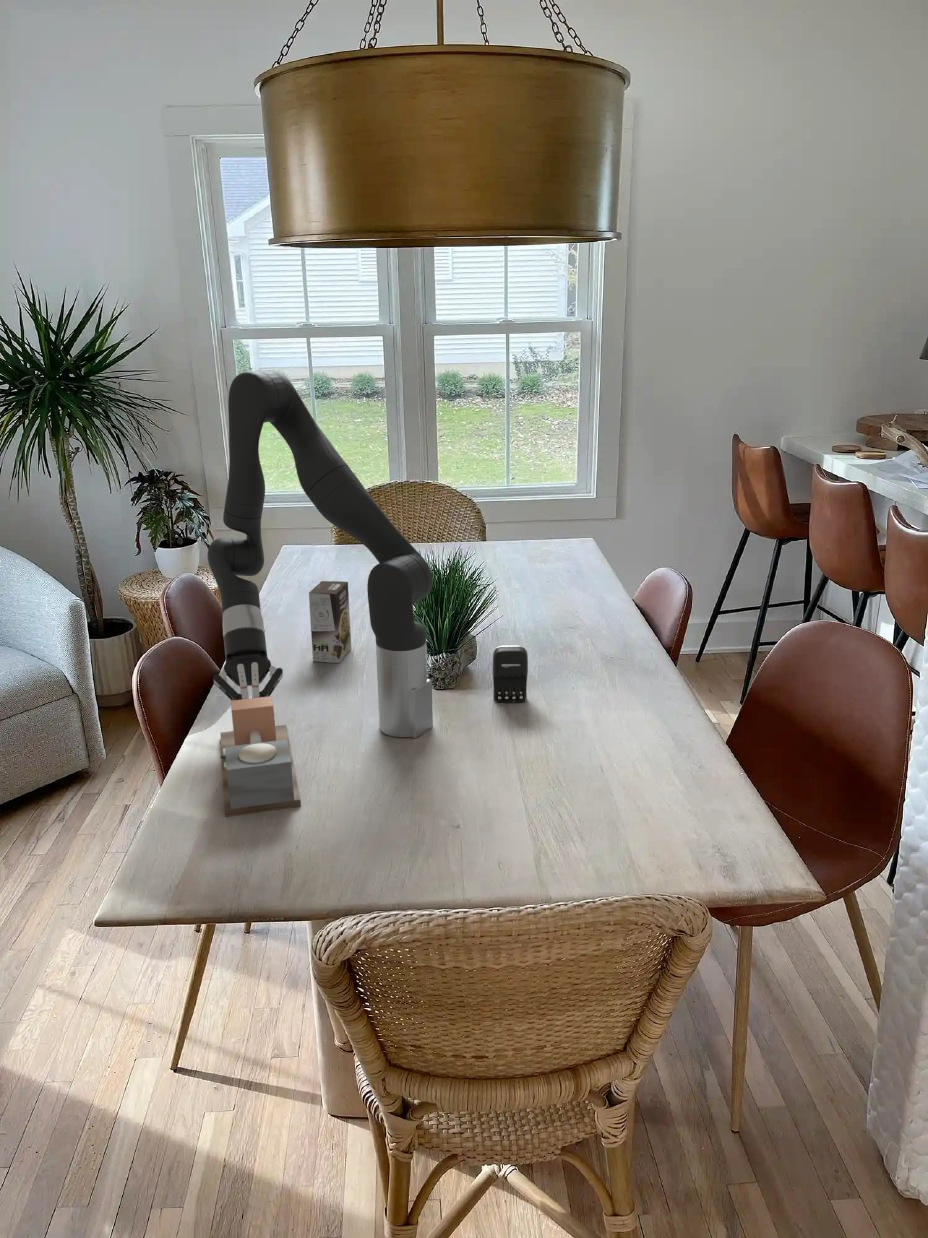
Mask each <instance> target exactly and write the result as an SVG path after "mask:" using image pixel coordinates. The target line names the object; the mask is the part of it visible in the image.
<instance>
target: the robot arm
mask: <svg viewBox="0 0 928 1238" xmlns="http://www.w3.org/2000/svg"><path fill="white" fill-rule="evenodd" d="M227 402H228V406H227V407H228V412H227V413H228V441H229V442H228V447H229V448H228V454H229V456H228V457H229V461H228V465H229V467H228V477H227V478H228V480H227V488H226V494H225V501H224V509H223V517H222V518H223V520H222V521H223V524H224V525H225V527H227V528H228V529H230V530H233V531H236V532H240V533H243V534H244V535H245V536H246V538H245V539H241V538H240V539H239V538H228V537H227V538H226V537H220V538H216V539H214V540H213V541H212V542H211V543H210V545H209V547H208V549H207V561H208V567H209V568H210V571H211V573H212V576H213V579H214V580H215V582H216V585H217V588H218V590H219V593H220V598H221V599H220V600H221V607H222V608H221V609H222V636H223V645H224V656H225V663H224V664H223V670H222V671H221V672H220V673H217V674H213V683H214V685H215V686H216V688H218V689H219V690H220V691H221V692H222V693H223V694H224V695H225V696H226V697H227V698H229V700H230V702H231V701H233V700H242V699H250V696H249V690H248V687H249V686H250V687H251V691H252V693H251V695H252V697H251V698H260V697H269V696H272V693H273V692H274V690H275V688H277V686H278V685H279V683H280V681H281V680H282V678H283V677H284V676H283V675H284V671H283V668H282V667H278V668H277V667H275V666H273V665H272V663H271V660H270V659H269V658H268V651H267V649H268V648H267V643H266V642H267V641H266V633H265V631H266V630H265V629H266V628H265V624H264V619H263V615H262V611H261V601H260V593H259V591H260V590H259V587H258V585H257V584H256V583H254V582H253V581H251V580H249V579H244V578H242V577H243V576H244V577H253V576H256V575H259V573H260V572H261V571H262V570H263V568H264V564H265V552H264V548H263V547H264V546H263V541H262V515H263V509H264V505H265V498H266V497H265V496H266V481H265V476H264V472H263V468H262V465H261V460H260V452H259V447H260V445H259V444H260V438H261V434H262V429H263V426H264V424H265V423H270V424H271V425H272V426H273V427H274V428H275V429H276V431H277V432H278V433H279V434H280V436H281V437H282V439H284V441H285V443H286V444H287V445H288V447H289V449H290V451H291V453H292V457H293V460H294V465H295V469H296V473H297V474H296V475H297V478H298V481H299V484H300V486H301V488H302V490H303V492H304V493H305V495H306V497H308V499H309V500H310V502H311V503H312V504H313V506H314V507H315V508H316V510H317V511H318V512H319V513H320V515H321V516H322V517H323V519H324V520H326V521H327V522H329V523H330V524H332V525H333V526H335V527H336V528H338V529H339V530H341V531H342V532H344V533H346V534H348V535H349V536H351V537H352V538H354V539H355V540H357V541H358V542H360V543H361V544H362V545H363V546H364V547H366V548H367V550H368V551H369V552H370V553H371V554H372V556H374V558H375V559H376V561H377V562H378V564H376V565H375V566H373V567H372V568H371V570H370V572H369V574H368V578H367V584H366V586H367V591H366V592H367V601H368V602H367V603H368V612H369V621H370V626H371V630H372V632H373V634H374V637H375V649H376V650H375V651H376V653H375V654H376V671H377V672H376V674H377V675H376V676H377V678H376V679H377V695H378V696H377V701H378V718H379V720H378V721H379V722H378V723H379V724H378V725H379V729H380V731H381V732H382V733H383V734H384V735H386V736H390V737H395V738H414V739H416V738H418V737H419V736H421V735H422V734H423V733H425V732H426V731H428V730H429V729H430V728H432V727H433V726H434V724H433V723H434V720H433V719H434V717H433V716H434V715H433V714H434V713H433V710H434V709H433V682H432V679H430V678H428V662H427V660H428V657H427V655H428V653H427V629H426V627H425V626H424V625H423V624H422V623H421V622H419V621H416V620H415V617H414V616H415V615H414V604H416V603H417V602H419V601H422V600H423V599H424V598H426V597H428V595H430V593H431V592H432V590H433V585H434V577H433V573H432V570H431V568H430V566H429V564H428V563H427V561H426V560H425V558H424V557H423V556H422V555H421V554H420V552H418V550H417V549H416V548H415V547H414V546H413V545H412V544H411V543H410V542H409V541H408V540H407V538H406V537H405V536H403V534H402V533H401V532H400V531H399V530H398V529H397V527H396V526H395V525H394V524H393V523H392V521H391V520H390V519H389V518H388V517H387V515H386V514H385V513H384V512H383V510H382V509H381V507H380V506H379V505H378V504H377V503H376V501H375V500H374V499H373V497H372V496H371V494H369V492H368V491H367V490H366V488H365V486H364V485H363V483H362V482H361V480H359V478H358V477H357V475H356V474H355V472H354V471H353V470H352V469H351V467H350V466H349V465H348V464H347V462H346V461H345V460H344V459H343V458H342V457H341V455H340V454H339V452H338V451H337V449H335V447H334V446H333V444H332V443H331V441H330V440H329V439H328V438H327V436H326V434H325V433H324V432H323V431H322V429H321V428H320V426H319V425H318V424H317V423H316V421H315V419H314V417H313V416H312V414H311V413H310V411H309V409H308V408H307V406H306V404H305V403H304V401H303V399H302V398H301V396H300V394H299V392H298V390H296V388H295V386H294V385H293V383H292V381H290V379H288V377H287V376H285V375H284V374H283V373H281V372H279V371H277V370H276V371H275V370H272V369H267V370H266V369H264V370H263V369H262V370H249V371H248V370H247V371H242V372H241V373H238V374H237V375H236V376H235V377H234V378H233V380H232V382H231V384H230V387H229V390H228V401H227ZM239 576H241V577H239ZM268 673H269V680H268V682H267V683H266V684H265V686H264V688H263V689H262V690H260V684H262V683H263V681H264V680H265V678H266V677H267V675H268ZM228 678H229V679H230V680H231V681H232V682H233V683H234V684H235V685H236V686H237V687H239V689H240V693H238V691H236V690H235V689H234V688H233V687H232V686H231V685H230V684H229V682H228V681H229V680H228Z"/></svg>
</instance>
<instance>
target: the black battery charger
mask: <svg viewBox="0 0 928 1238" xmlns="http://www.w3.org/2000/svg"><path fill="white" fill-rule="evenodd" d="M528 656H529V654H528V650H527V649H526V647H525V646H523V645H513V644H511V645H510V644H509V645H508V644H507V645H505V644H504V645H499V646H496V647H495V648H494V650H493V652H492V681H493V687H492V688H493V691H492V693H493V694H492V697H493V700H494V702H495V703H499V704H500V703H501V704H502V703H503V704H506V703H507V704H512V703H513V704H517V703H518V704H519V702H521V703H524V702H526V701H527V697H528V693H527V690H528V689H527V688H528V687H527V686H528V684H527V683H528V673H529V672H528V671H529V669H528V668H529V657H528Z"/></svg>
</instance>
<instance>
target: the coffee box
mask: <svg viewBox="0 0 928 1238" xmlns="http://www.w3.org/2000/svg"><path fill="white" fill-rule="evenodd" d="M349 595H350V594H349V582H348V581H339V580H338V581H337V580H330V581H329V580H327V581H326V580H321V581H320V582H319V583H318V584H317V585H316V586H314V587H313V589H312V590H310V591H309V592H308V602H309V616H310V617H309V618H310V621H309V622H310V631H311V633H310V635H311V650H312V654H311V655H312V661H313V662H318V663H332V664H340V663H341V661H342V660H343V659H344V658H345V656H347V654H348V653H349V652H350V651H351V649H352V635H351V634H352V631H351V616H350V598H349Z"/></svg>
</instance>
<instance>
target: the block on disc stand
mask: <svg viewBox="0 0 928 1238" xmlns="http://www.w3.org/2000/svg"><path fill="white" fill-rule="evenodd" d="M273 701H274V700H273V696H272V695H270V696H269V697H260V698H252V697H250V698H249V699H242V700H233V701H231V700H230V709H231V719H232V720H231V721H232V729H233V730H232V731H234V740H235V746H237V745H245V744H253V743H262V742H270V741H276V731H275V726H276V720H275V710H274V702H273ZM224 758H226V755H225V756H222V755H220V759H221V760H222V759H224Z"/></svg>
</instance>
